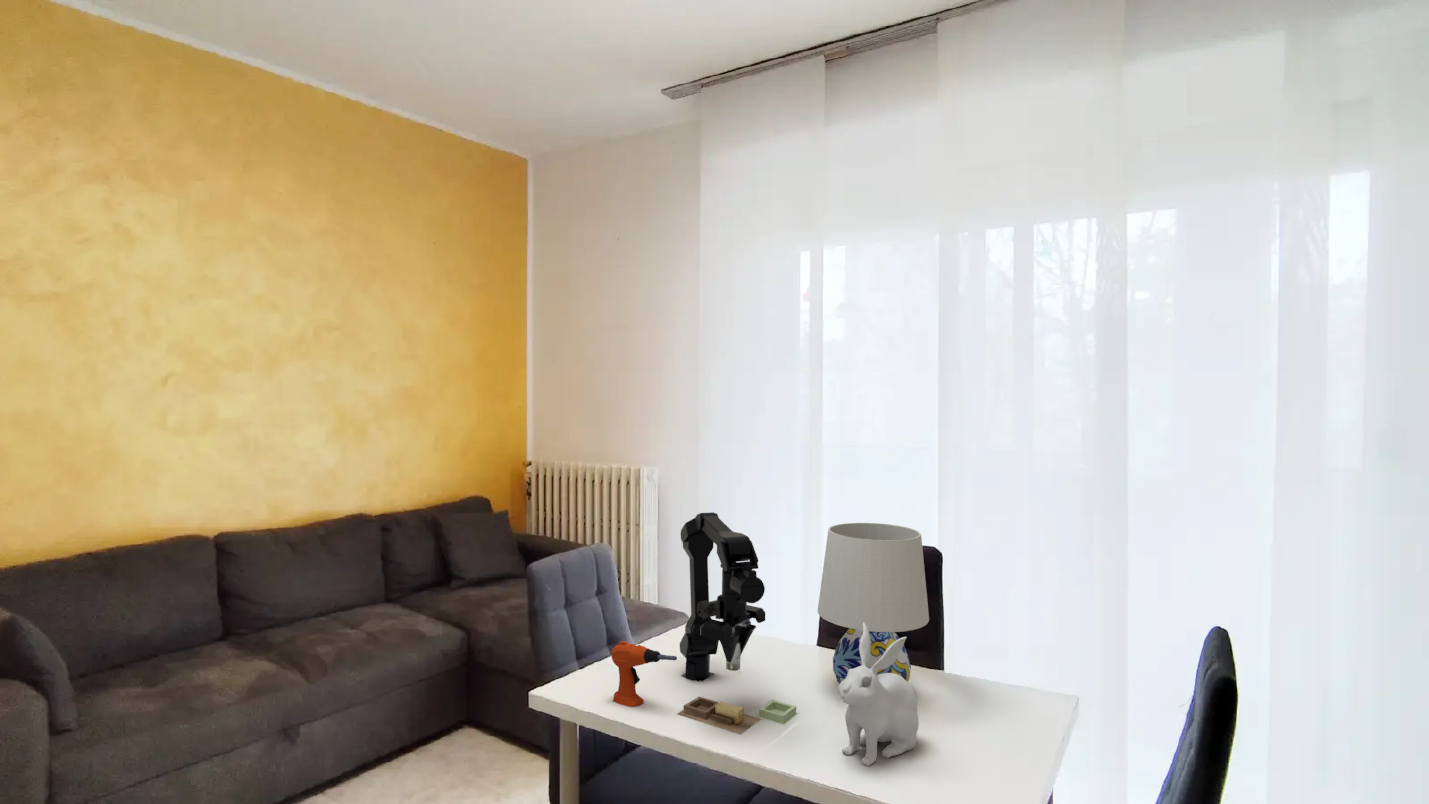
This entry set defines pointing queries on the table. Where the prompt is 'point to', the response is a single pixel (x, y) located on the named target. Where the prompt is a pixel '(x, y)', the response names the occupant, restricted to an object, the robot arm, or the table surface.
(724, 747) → the table surface
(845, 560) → the table lamp
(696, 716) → the socket block
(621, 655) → the toy drill
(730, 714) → the yellow rectangular block
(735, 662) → the chrome stepped cylinder
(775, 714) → the tray
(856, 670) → the rabbit
